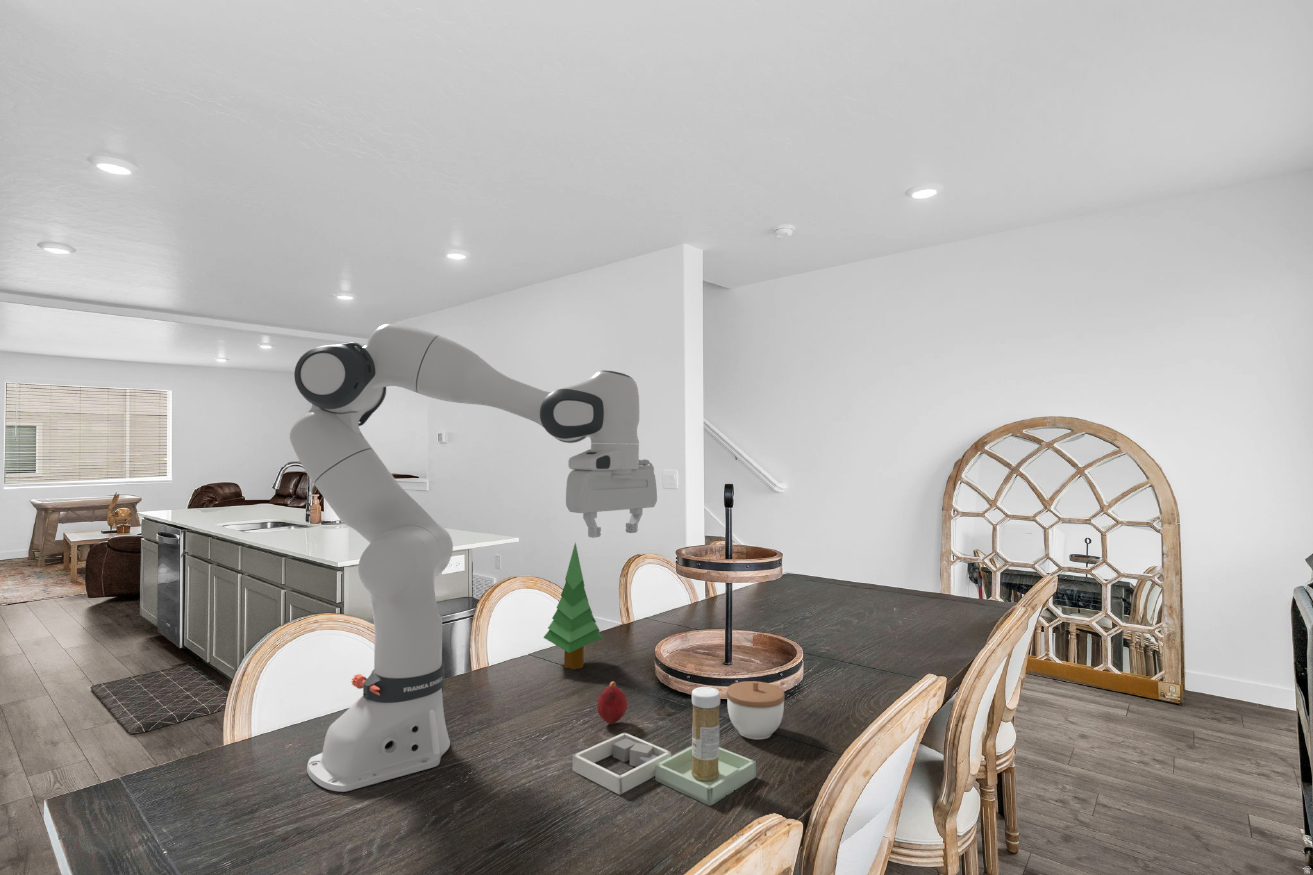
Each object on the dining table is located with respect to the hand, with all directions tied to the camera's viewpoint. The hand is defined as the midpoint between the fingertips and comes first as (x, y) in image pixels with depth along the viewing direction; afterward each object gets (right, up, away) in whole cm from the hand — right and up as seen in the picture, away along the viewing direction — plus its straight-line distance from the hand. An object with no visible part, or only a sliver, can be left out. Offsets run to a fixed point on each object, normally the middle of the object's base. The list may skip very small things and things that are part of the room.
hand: (613, 534), depth 121 cm
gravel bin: (+2, -37, -12) cm, 39 cm away
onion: (-1, -37, +5) cm, 38 cm away
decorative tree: (-12, -38, +39) cm, 55 cm away
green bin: (+16, -37, -15) cm, 43 cm away
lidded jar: (+26, -38, +2) cm, 46 cm away
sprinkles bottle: (+16, -37, -15) cm, 43 cm away
